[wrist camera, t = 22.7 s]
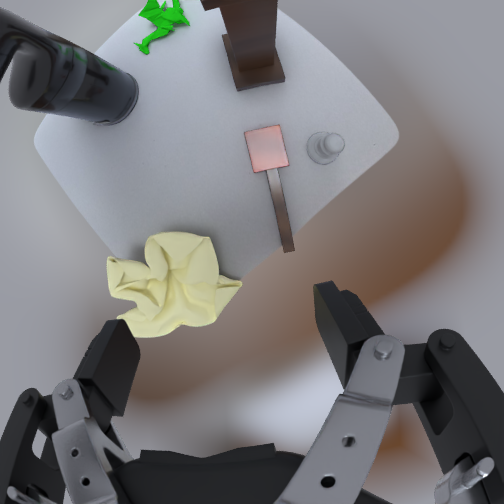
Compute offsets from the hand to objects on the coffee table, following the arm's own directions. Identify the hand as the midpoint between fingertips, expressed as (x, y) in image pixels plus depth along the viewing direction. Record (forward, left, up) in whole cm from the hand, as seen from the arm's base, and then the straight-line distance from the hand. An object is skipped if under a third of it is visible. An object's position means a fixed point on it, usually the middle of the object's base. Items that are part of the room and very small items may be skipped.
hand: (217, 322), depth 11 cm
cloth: (-2, -16, -24) cm, 29 cm away
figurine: (-30, +18, -27) cm, 44 cm away
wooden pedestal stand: (-16, +18, -30) cm, 38 cm away
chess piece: (+1, +14, -30) cm, 33 cm away
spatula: (0, +5, -30) cm, 30 cm away
